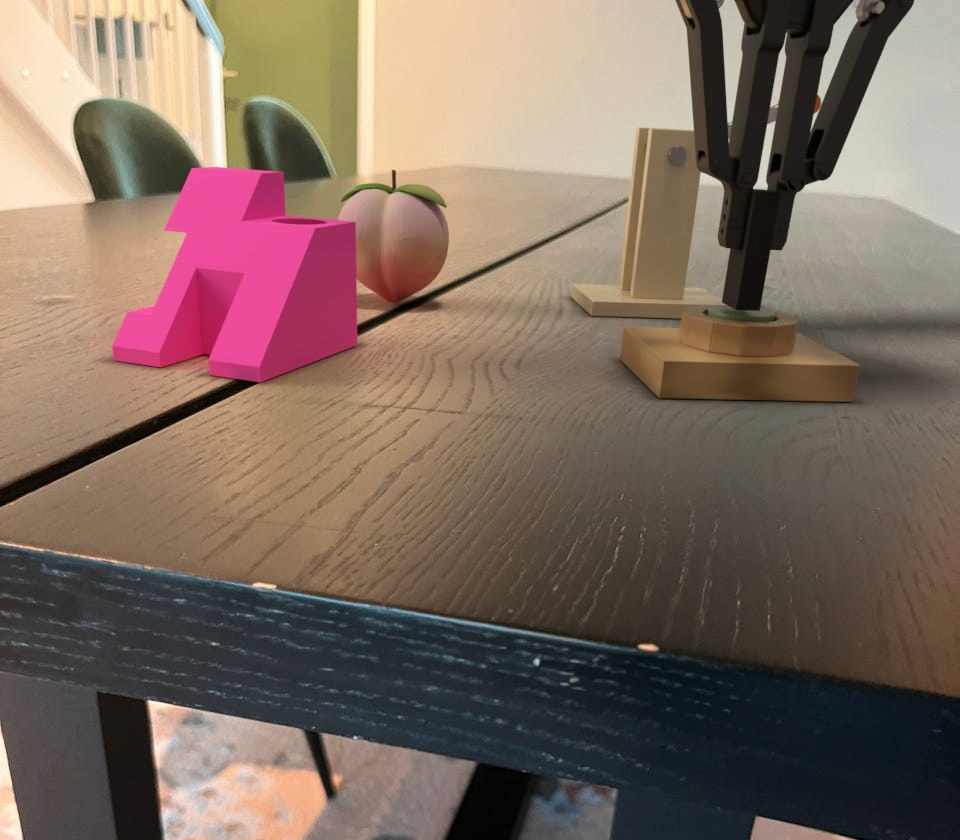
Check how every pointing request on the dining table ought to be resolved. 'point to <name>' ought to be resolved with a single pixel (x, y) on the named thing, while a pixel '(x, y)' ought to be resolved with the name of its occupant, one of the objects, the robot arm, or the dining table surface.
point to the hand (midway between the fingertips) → (740, 306)
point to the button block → (737, 360)
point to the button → (740, 314)
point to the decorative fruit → (397, 236)
